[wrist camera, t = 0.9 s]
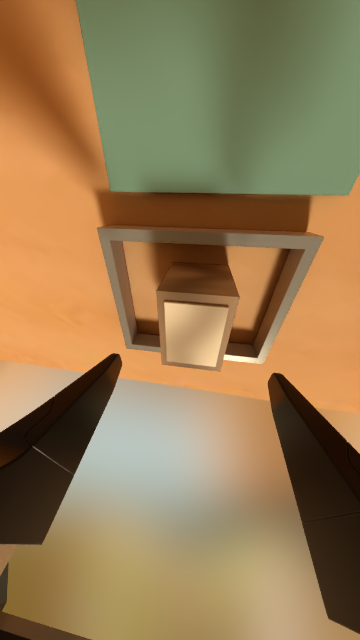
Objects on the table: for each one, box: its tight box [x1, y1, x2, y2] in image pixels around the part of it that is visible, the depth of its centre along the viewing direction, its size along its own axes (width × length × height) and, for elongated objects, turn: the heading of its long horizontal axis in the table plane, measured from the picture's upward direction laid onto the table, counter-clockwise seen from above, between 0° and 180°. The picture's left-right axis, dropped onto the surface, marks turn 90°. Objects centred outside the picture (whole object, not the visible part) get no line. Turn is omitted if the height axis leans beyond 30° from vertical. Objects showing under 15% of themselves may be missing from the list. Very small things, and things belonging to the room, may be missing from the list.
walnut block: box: [156, 262, 240, 372], centre depth 14 cm, size 5×7×6 cm
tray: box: [97, 225, 324, 364], centre depth 16 cm, size 16×13×2 cm
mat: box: [76, 0, 360, 195], centre depth 8 cm, size 16×11×1 cm
